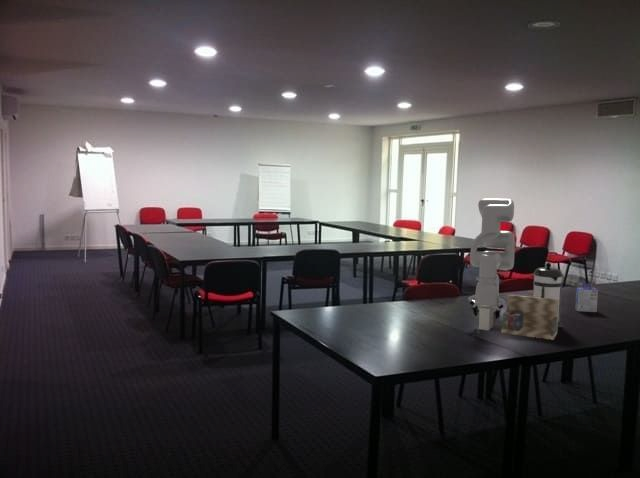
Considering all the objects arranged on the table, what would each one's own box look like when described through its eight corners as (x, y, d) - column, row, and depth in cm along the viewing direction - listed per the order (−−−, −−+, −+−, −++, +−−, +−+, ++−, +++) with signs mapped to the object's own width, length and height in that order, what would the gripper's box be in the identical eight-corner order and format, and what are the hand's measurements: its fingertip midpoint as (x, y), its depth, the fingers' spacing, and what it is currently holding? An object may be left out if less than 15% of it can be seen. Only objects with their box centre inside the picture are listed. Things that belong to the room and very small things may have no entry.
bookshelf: (501, 332, 245) (502, 299, 244) (506, 326, 256) (508, 294, 254) (553, 340, 234) (555, 304, 233) (557, 333, 244) (558, 299, 243)
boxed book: (478, 329, 251) (479, 307, 250) (483, 325, 258) (483, 304, 257) (488, 330, 249) (489, 309, 248) (492, 326, 256) (493, 305, 255)
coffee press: (568, 324, 261) (571, 262, 258) (555, 330, 250) (558, 266, 246) (532, 317, 273) (535, 258, 270) (518, 323, 262) (521, 262, 259)
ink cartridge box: (594, 310, 290) (595, 283, 289) (597, 312, 285) (599, 285, 283) (574, 309, 292) (576, 282, 291) (577, 311, 287) (578, 284, 285)
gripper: (466, 280, 253) (465, 316, 254) (505, 283, 244) (503, 321, 245) (471, 277, 259) (470, 312, 261) (508, 281, 250) (507, 317, 252)
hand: (486, 316), depth 253 cm, fingers open, 9 cm apart
